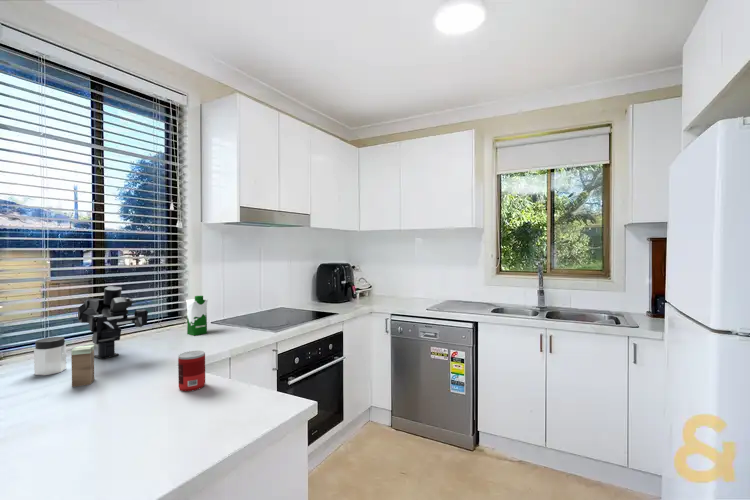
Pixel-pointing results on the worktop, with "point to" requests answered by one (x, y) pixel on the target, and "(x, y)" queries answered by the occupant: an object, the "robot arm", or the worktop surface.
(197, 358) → the canned food
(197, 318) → the milk carton
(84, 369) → the green and tan block
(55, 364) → the jar
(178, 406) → the worktop surface
